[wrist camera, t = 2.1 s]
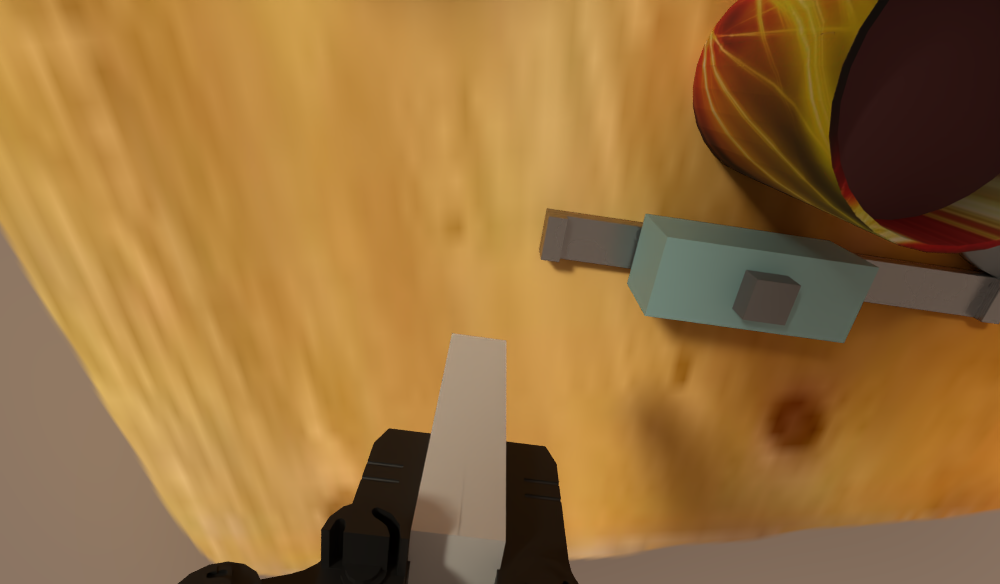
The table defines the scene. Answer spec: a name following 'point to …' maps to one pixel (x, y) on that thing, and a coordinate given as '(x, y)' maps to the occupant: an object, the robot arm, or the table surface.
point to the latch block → (748, 279)
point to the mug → (864, 111)
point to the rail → (894, 278)
